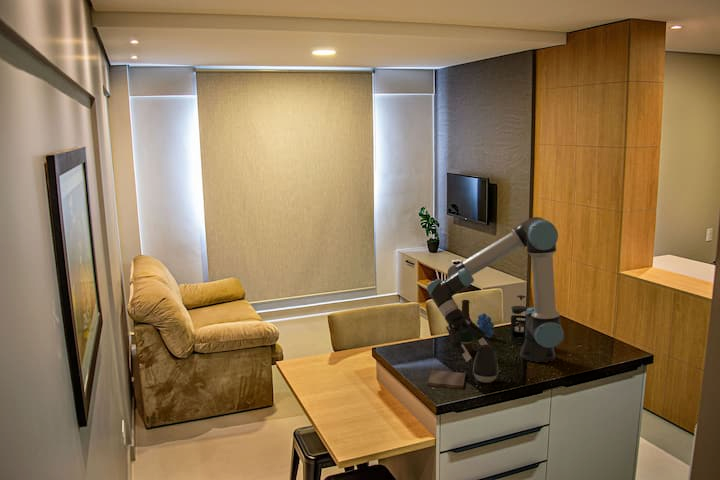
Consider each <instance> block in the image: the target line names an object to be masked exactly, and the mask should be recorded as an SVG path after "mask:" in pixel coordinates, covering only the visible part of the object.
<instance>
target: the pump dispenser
mask: <svg viewBox="0 0 720 480" xmlns="http://www.w3.org/2000/svg"><path fill="white" fill-rule="evenodd" d="M472 350H474V351H477V352H476V355H475V357H474V360H473V365H472V373H473V375H474V378H475V380H477V381H478V382H480V383H484V384H488V383H492V382H494V381H495V380H496V378H497V376H498V374H499V365H498V359H497V355H496V352H495V350H494V349H493V347H492V346H491V345H490V344H488V345H487V344H484V345H482V346H481V345H480V347H476V346H473V348H472Z"/></svg>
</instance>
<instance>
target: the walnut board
mask: <svg viewBox="0 0 720 480" xmlns="http://www.w3.org/2000/svg"><path fill="white" fill-rule="evenodd" d="M466 374H467V373H466V372H458V371H457V372H456V371H455V372H454V371H446V370H436V369H435V370H433V369H432V370H431V371H430V375H429V377H428V381H427V386H432V387H442V388H449V389H451V388H452V389H460V390H461V389H462V390H463V389H464V385H465V380H466V376H467V375H466Z"/></svg>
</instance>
